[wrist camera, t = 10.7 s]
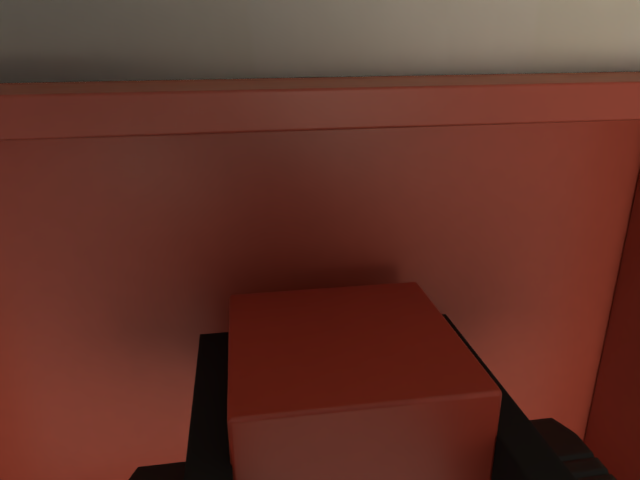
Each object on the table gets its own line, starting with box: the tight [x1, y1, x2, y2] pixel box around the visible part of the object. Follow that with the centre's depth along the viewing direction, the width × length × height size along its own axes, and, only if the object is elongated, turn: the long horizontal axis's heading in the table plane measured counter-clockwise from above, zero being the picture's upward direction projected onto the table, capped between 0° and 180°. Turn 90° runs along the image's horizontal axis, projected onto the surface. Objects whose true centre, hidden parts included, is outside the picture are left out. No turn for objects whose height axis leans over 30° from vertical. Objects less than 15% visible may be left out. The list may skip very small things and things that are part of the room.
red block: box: [227, 282, 502, 480], centre depth 12 cm, size 5×5×5 cm
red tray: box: [0, 72, 640, 480], centre depth 14 cm, size 20×14×3 cm
